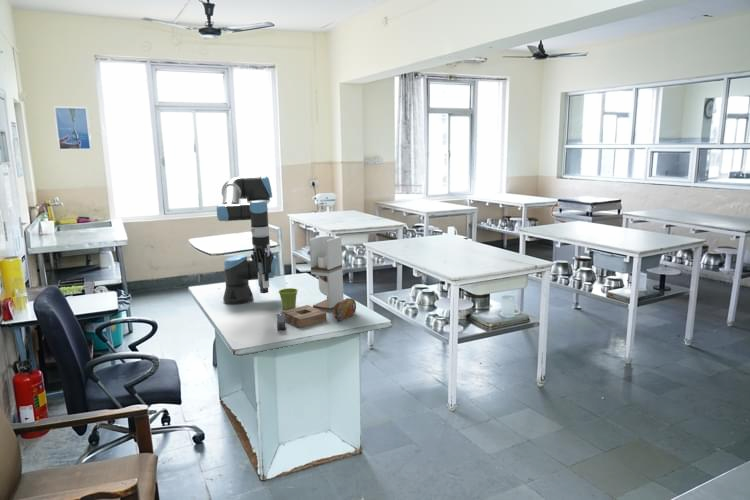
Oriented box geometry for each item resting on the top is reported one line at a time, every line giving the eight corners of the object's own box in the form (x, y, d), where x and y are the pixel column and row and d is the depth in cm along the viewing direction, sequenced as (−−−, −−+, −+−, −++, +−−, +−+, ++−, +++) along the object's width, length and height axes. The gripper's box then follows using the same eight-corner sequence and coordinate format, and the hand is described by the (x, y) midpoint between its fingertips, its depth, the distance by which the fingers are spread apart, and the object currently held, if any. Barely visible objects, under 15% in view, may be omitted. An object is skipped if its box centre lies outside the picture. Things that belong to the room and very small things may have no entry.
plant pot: (294, 310, 257) (293, 293, 255) (276, 310, 259) (275, 293, 257) (301, 305, 266) (300, 288, 264) (283, 304, 268) (282, 287, 266)
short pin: (275, 329, 231) (274, 314, 230) (283, 327, 233) (282, 312, 232) (280, 331, 228) (279, 316, 227) (287, 329, 231) (286, 314, 229)
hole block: (282, 319, 244) (281, 311, 244) (307, 312, 253) (307, 304, 252) (300, 328, 232) (299, 319, 231) (326, 320, 241) (326, 312, 240)
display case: (326, 303, 268) (323, 235, 261) (343, 306, 263) (341, 236, 256) (312, 309, 258) (309, 239, 252) (330, 312, 253) (327, 240, 246)
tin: (338, 323, 238) (337, 305, 236) (332, 321, 240) (331, 304, 238) (356, 313, 250) (356, 296, 249) (351, 312, 252) (350, 295, 250)
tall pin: (258, 292, 239) (256, 262, 237) (266, 290, 242) (264, 260, 239) (262, 293, 237) (260, 263, 234) (269, 292, 239) (267, 262, 236)
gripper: (244, 234, 238) (248, 284, 243) (261, 239, 225) (265, 292, 230) (259, 232, 243) (262, 281, 247) (277, 236, 230) (280, 288, 235)
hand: (263, 286), depth 239 cm, fingers closed on tall pin, 4 cm apart
